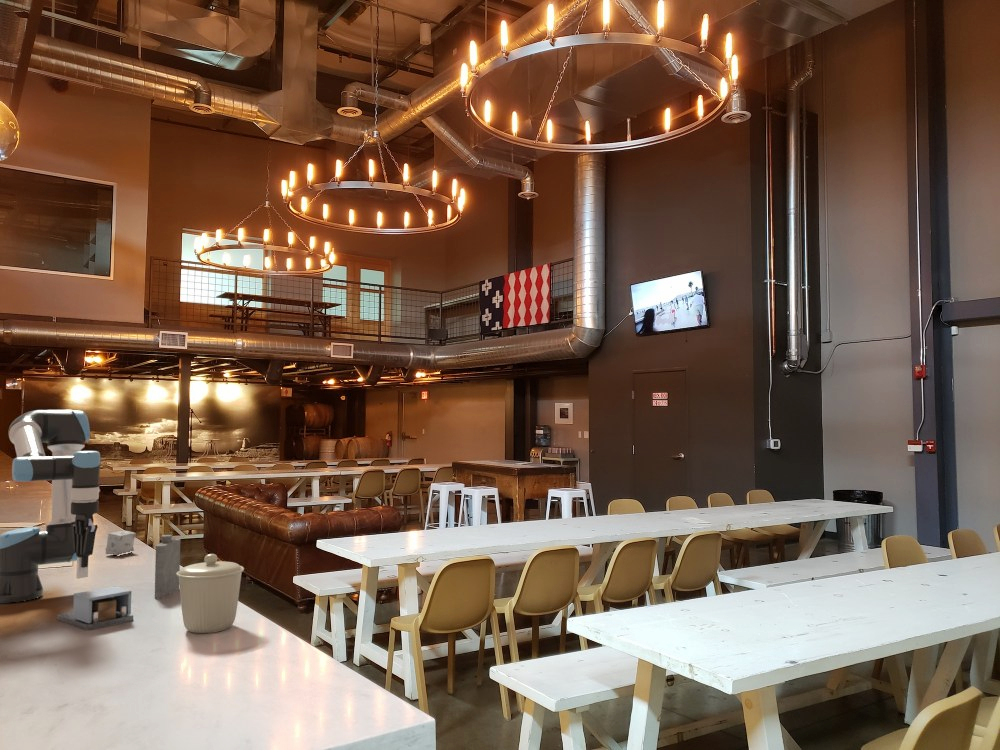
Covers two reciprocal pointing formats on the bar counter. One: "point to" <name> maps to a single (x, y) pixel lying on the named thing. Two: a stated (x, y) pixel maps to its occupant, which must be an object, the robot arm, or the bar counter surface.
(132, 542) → the incense holder
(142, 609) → the bar counter surface
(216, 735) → the bar counter surface
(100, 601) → the light brown cube
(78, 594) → the housing cover
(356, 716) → the bar counter surface
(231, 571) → the canister
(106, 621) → the housing base
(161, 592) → the hip flask
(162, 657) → the bar counter surface
